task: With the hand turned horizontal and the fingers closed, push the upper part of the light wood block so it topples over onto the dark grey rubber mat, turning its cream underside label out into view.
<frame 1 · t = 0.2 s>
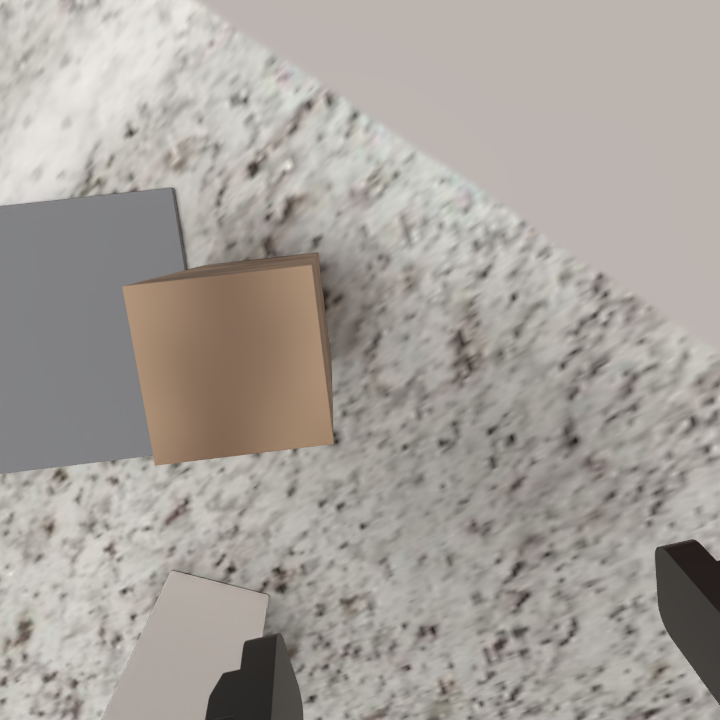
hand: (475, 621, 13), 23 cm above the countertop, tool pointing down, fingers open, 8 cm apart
mat: (65, 336, 34), on the countertop
light wood block: (269, 314, 34), on the countertop
milk: (208, 623, 38), on the countertop
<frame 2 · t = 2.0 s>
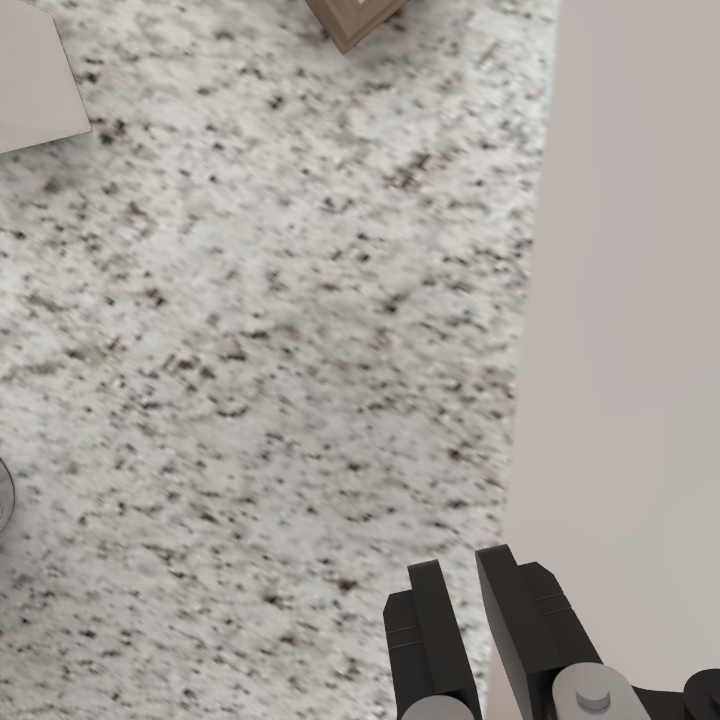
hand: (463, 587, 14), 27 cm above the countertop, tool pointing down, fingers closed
milk: (22, 88, 35), on the countertop
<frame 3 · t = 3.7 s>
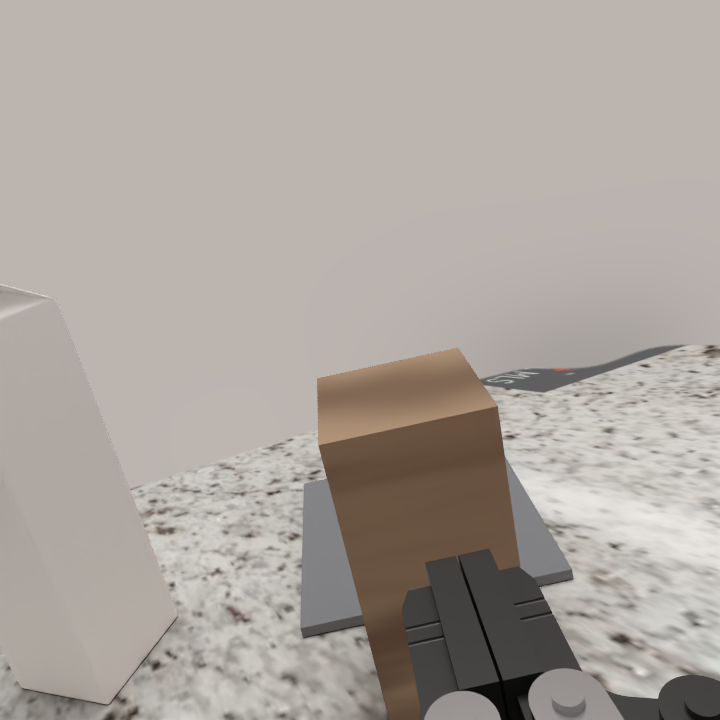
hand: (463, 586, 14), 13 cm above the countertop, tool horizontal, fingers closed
mat: (416, 527, 39), on the countertop
light wood block: (453, 671, 28), on the countertop
milk: (104, 653, 34), on the countertop
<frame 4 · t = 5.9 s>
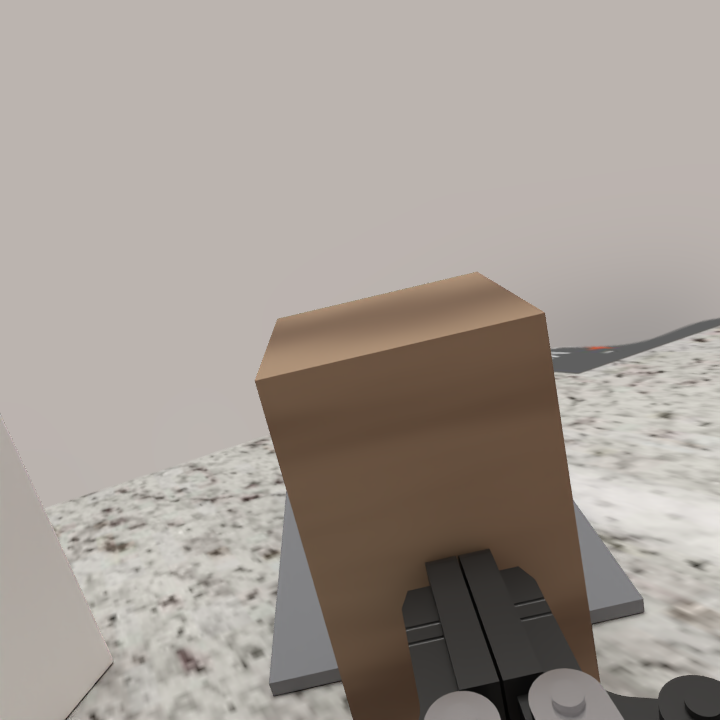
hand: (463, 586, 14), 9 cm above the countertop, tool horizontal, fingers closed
mat: (427, 540, 30), on the countertop
milk: (12, 715, 26), on the countertop
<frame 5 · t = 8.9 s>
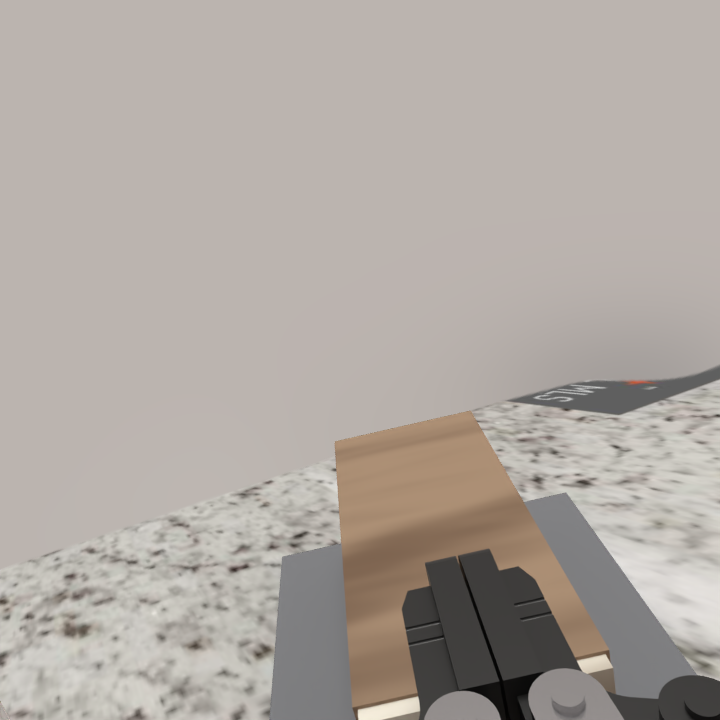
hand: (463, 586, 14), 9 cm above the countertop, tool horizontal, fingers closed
mat: (456, 642, 24), on the countertop
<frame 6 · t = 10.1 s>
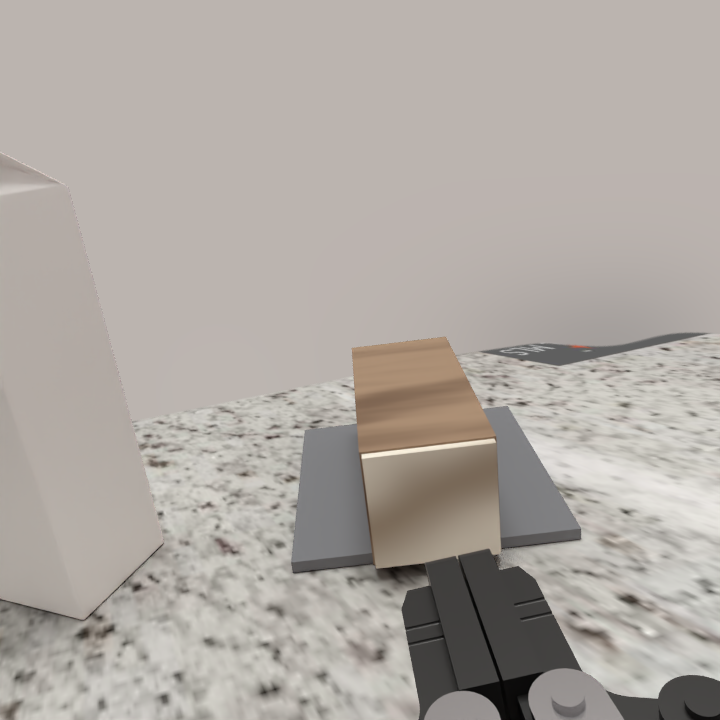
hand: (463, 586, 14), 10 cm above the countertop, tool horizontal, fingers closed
mat: (419, 479, 37), on the countertop
light wood block: (433, 508, 28), point 4 cm above the countertop, tilted 90°, touching mat
milk: (84, 572, 33), on the countertop
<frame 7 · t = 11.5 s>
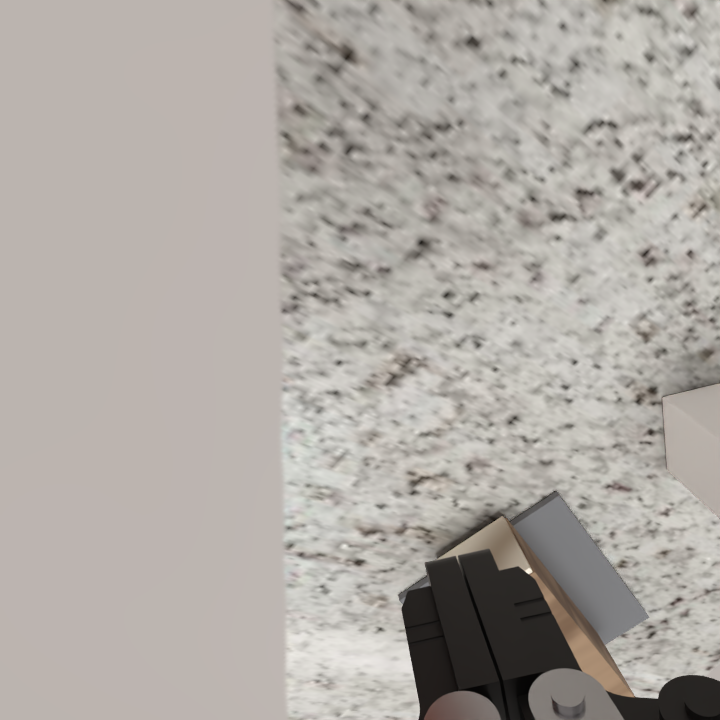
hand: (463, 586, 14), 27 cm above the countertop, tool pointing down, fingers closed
mat: (524, 603, 49), on the countertop
light wood block: (479, 563, 43), point 4 cm above the countertop, tilted 90°, touching mat
milk: (703, 423, 45), on the countertop
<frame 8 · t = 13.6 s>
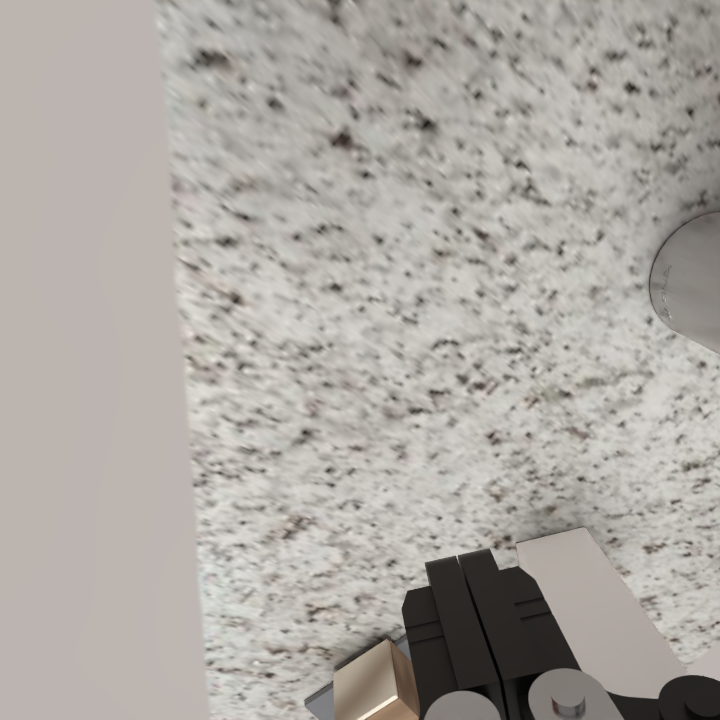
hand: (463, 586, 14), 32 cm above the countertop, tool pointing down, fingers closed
mat: (413, 705, 57), on the countertop
light wood block: (362, 683, 52), point 4 cm above the countertop, tilted 90°, touching mat
milk: (553, 561, 54), on the countertop
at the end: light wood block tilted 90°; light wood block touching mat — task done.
